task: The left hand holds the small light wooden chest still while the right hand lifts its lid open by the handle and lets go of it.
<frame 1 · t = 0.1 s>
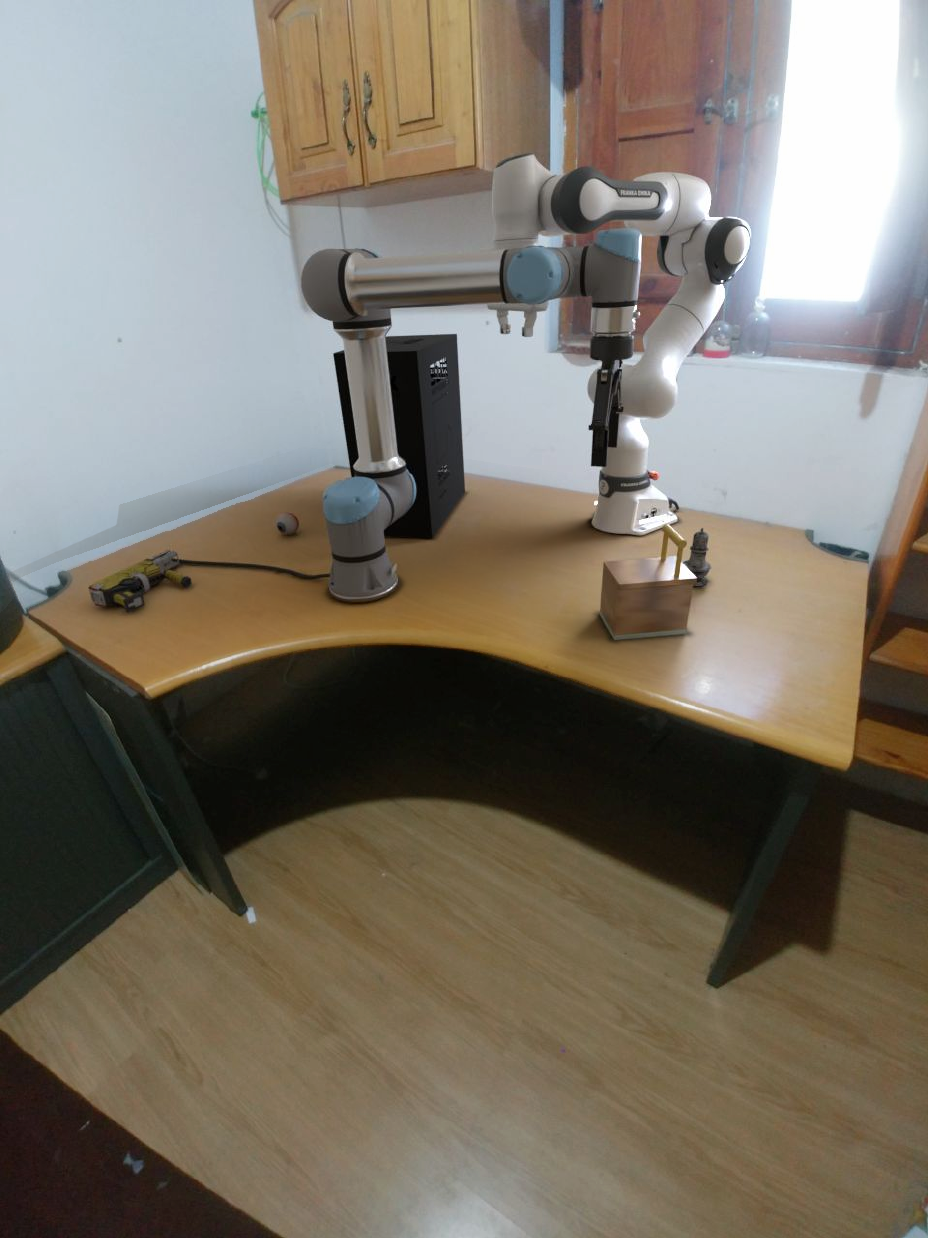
left hand: (604, 456, 115), 28 cm above the table, tool pointing down, fingers open, 13 cm apart
right hand: (516, 335, 125), 48 cm above the table, tool pointing down, fingers open, 8 cm apart
lid: (650, 554, 108), point 14 cm above the table, hinge at 0.0°
eyeball: (289, 534, 165), on the table
black box: (416, 512, 175), on the table
toy gun: (157, 589, 139), on the table
salt shaker: (694, 581, 129), on the table
chest: (641, 623, 115), on the table
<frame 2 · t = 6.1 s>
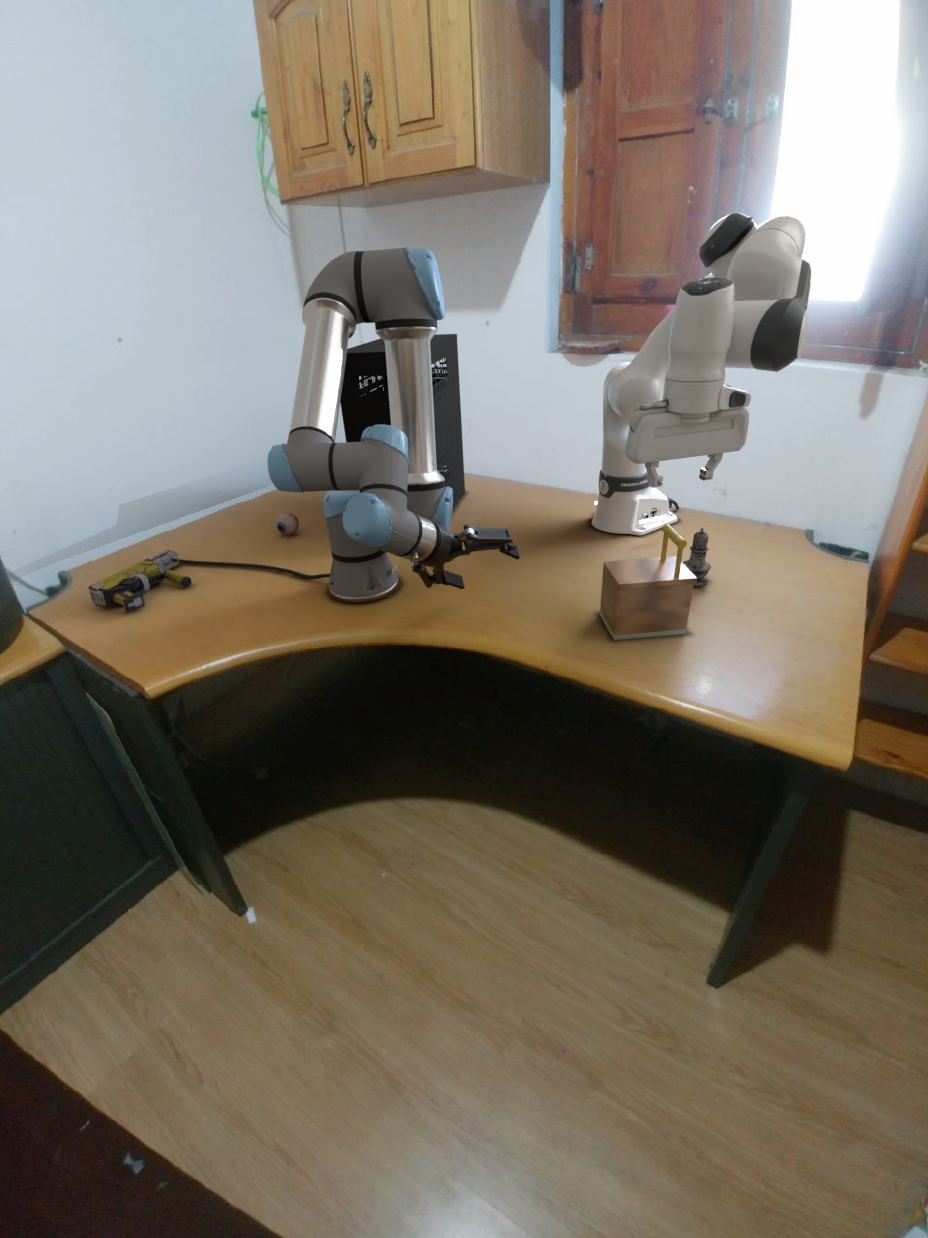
left hand: (489, 568, 119), 9 cm above the table, tool tilted 55°, fingers open, 13 cm apart
right hand: (680, 482, 102), 27 cm above the table, tool pointing down, fingers open, 8 cm apart
nothing on the table moved.
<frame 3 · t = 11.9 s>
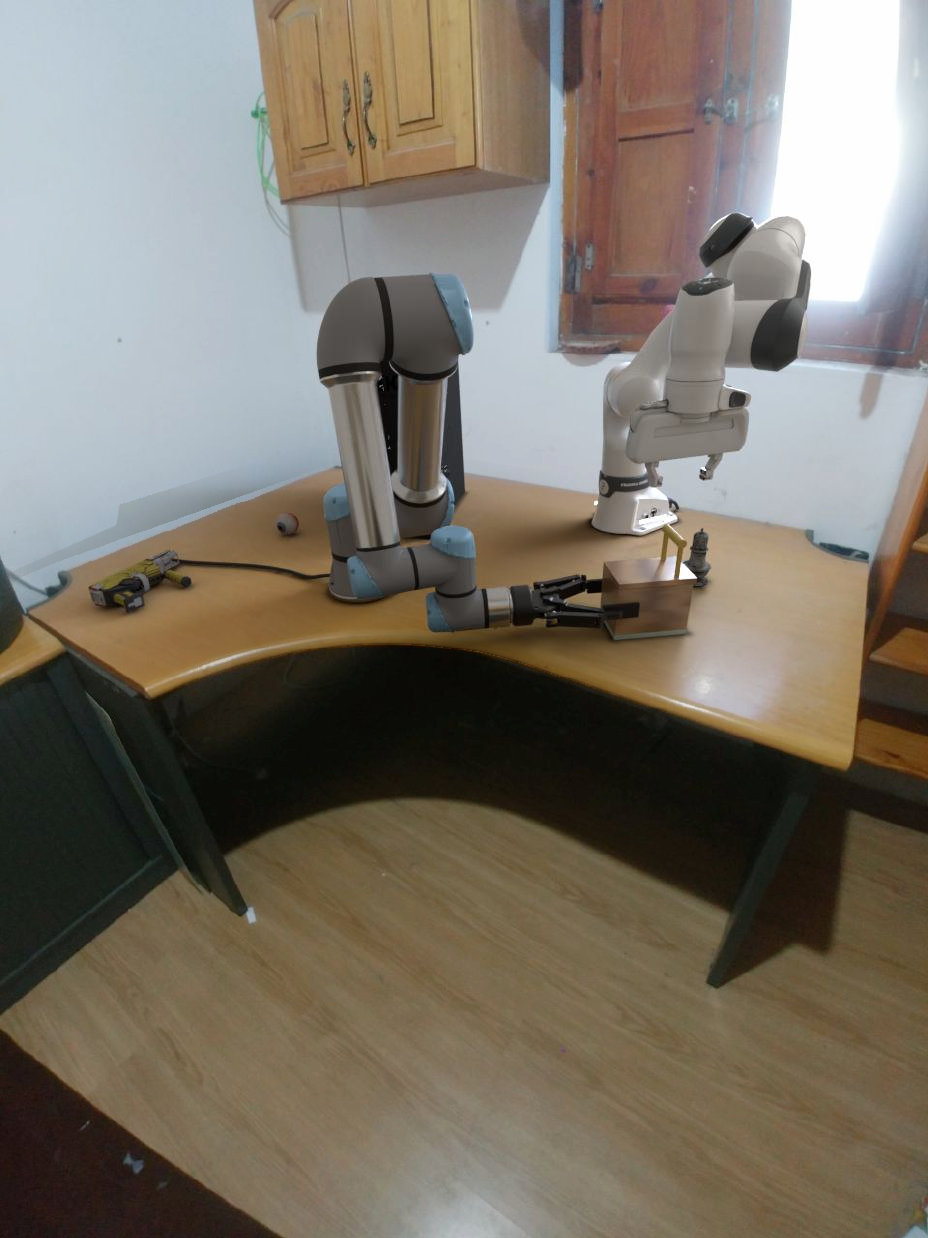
left hand: (629, 596, 112), 6 cm above the table, tool horizontal, fingers closed on chest, 10 cm apart
right hand: (680, 482, 102), 27 cm above the table, tool pointing down, fingers open, 8 cm apart
chest: (641, 623, 115), on the table, touching left hand
everything else where it was.
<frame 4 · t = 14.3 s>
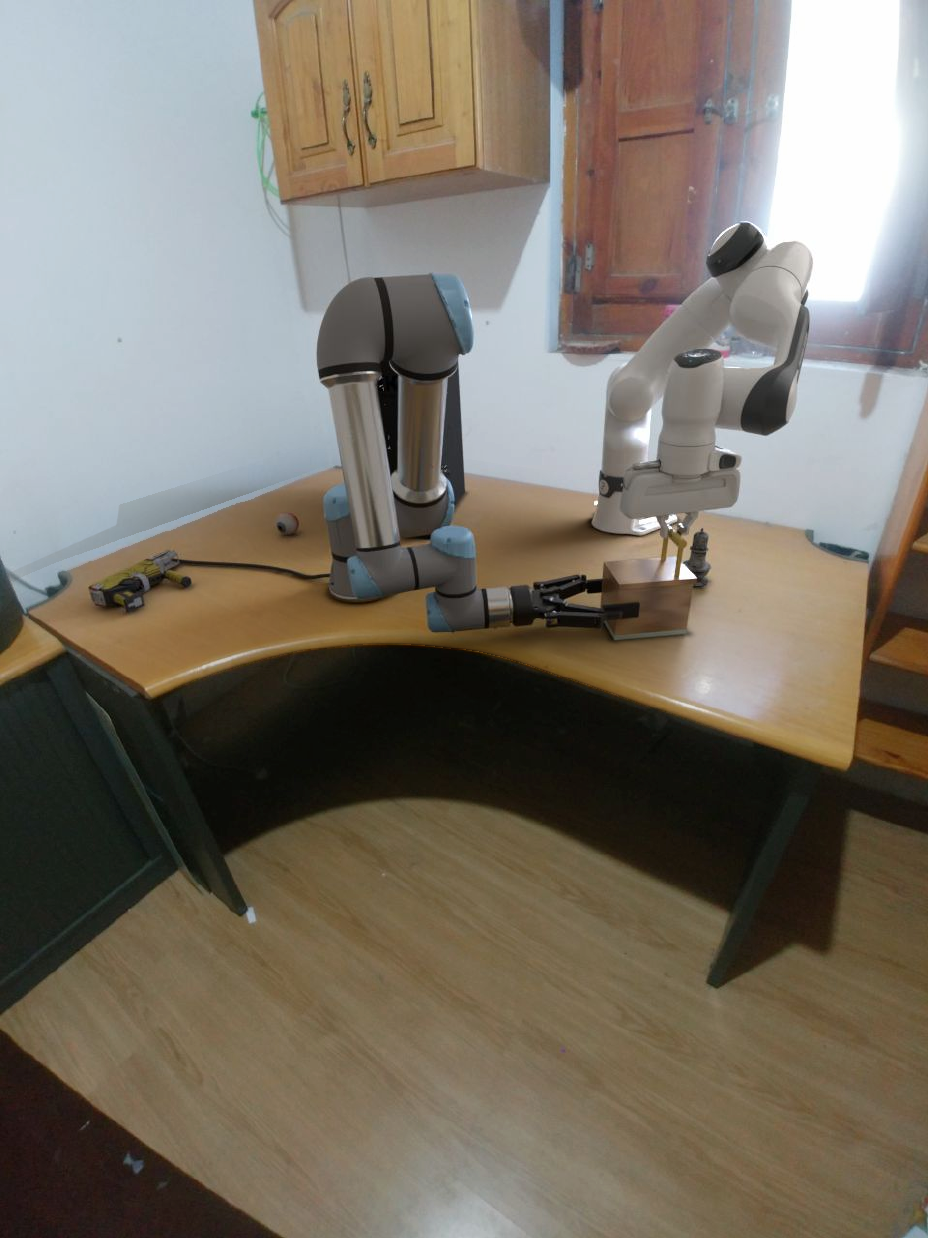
left hand: (629, 596, 112), 6 cm above the table, tool horizontal, fingers closed on chest, 10 cm apart
right hand: (674, 535, 107), 18 cm above the table, tool pointing down, fingers closed on lid, 2 cm apart
lid: (650, 554, 108), point 14 cm above the table, hinge at -0.2°, touching right hand
chest: (641, 623, 115), on the table, touching left hand
everything else where it was.
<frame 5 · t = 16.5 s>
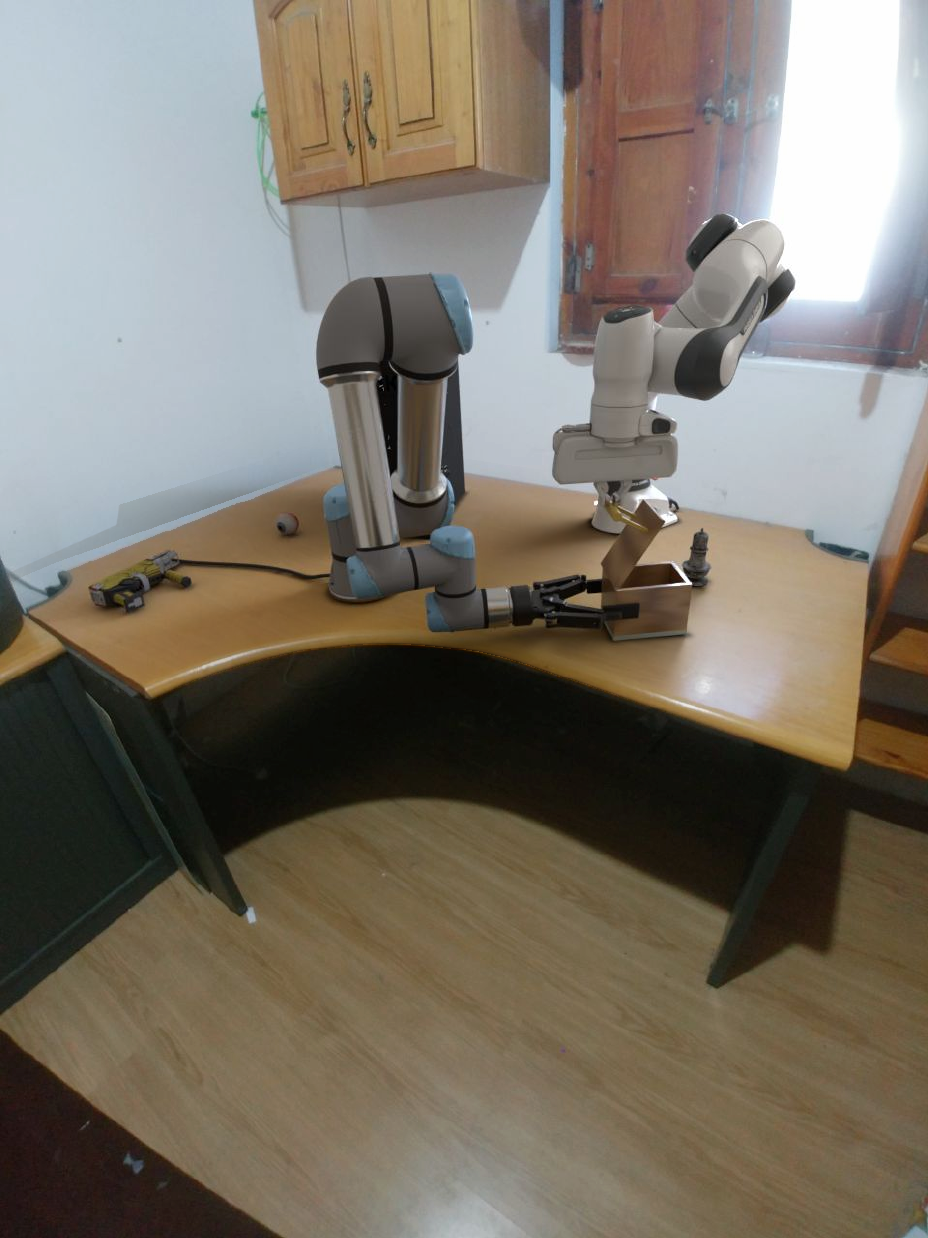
left hand: (629, 596, 112), 6 cm above the table, tool horizontal, fingers closed on chest, 10 cm apart
right hand: (610, 505, 103), 24 cm above the table, tool pointing down, fingers closed, pressing on lid
lid: (614, 535, 105), point 19 cm above the table, hinge at 59.1°, touching right hand
chest: (641, 623, 115), on the table, touching left hand
everything else where it was.
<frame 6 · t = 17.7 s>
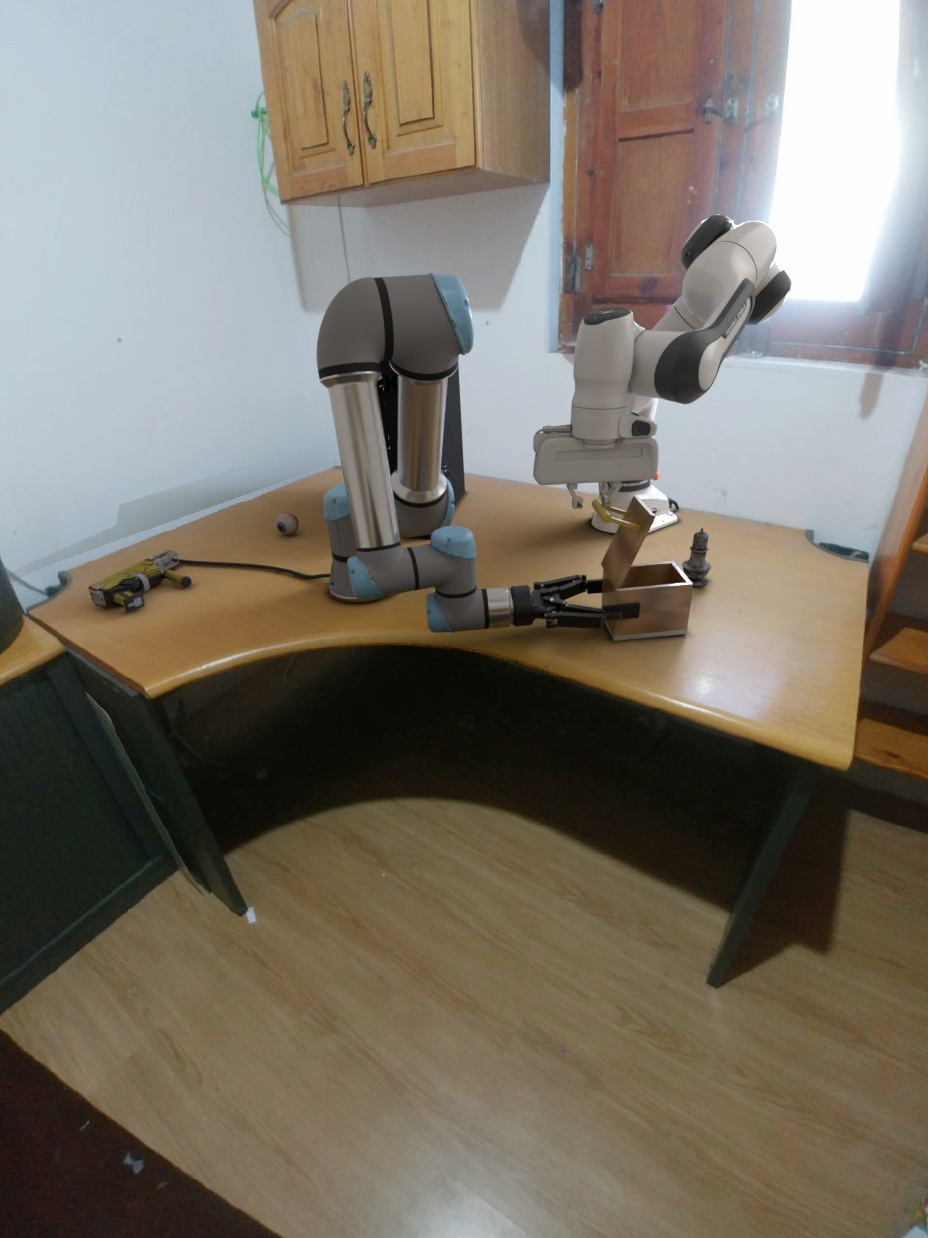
left hand: (629, 596, 112), 6 cm above the table, tool horizontal, fingers closed on chest, 10 cm apart
right hand: (591, 506, 103), 24 cm above the table, tool pointing down, fingers open, 4 cm apart
lid: (608, 536, 105), point 19 cm above the table, hinge at 67.2°, touching right hand
chest: (642, 623, 115), on the table, touching left hand
everything else where it was.
when the left hand's fingers open (6 cm above the table, at t = 21.0 s): chest stays where it is, on the table.
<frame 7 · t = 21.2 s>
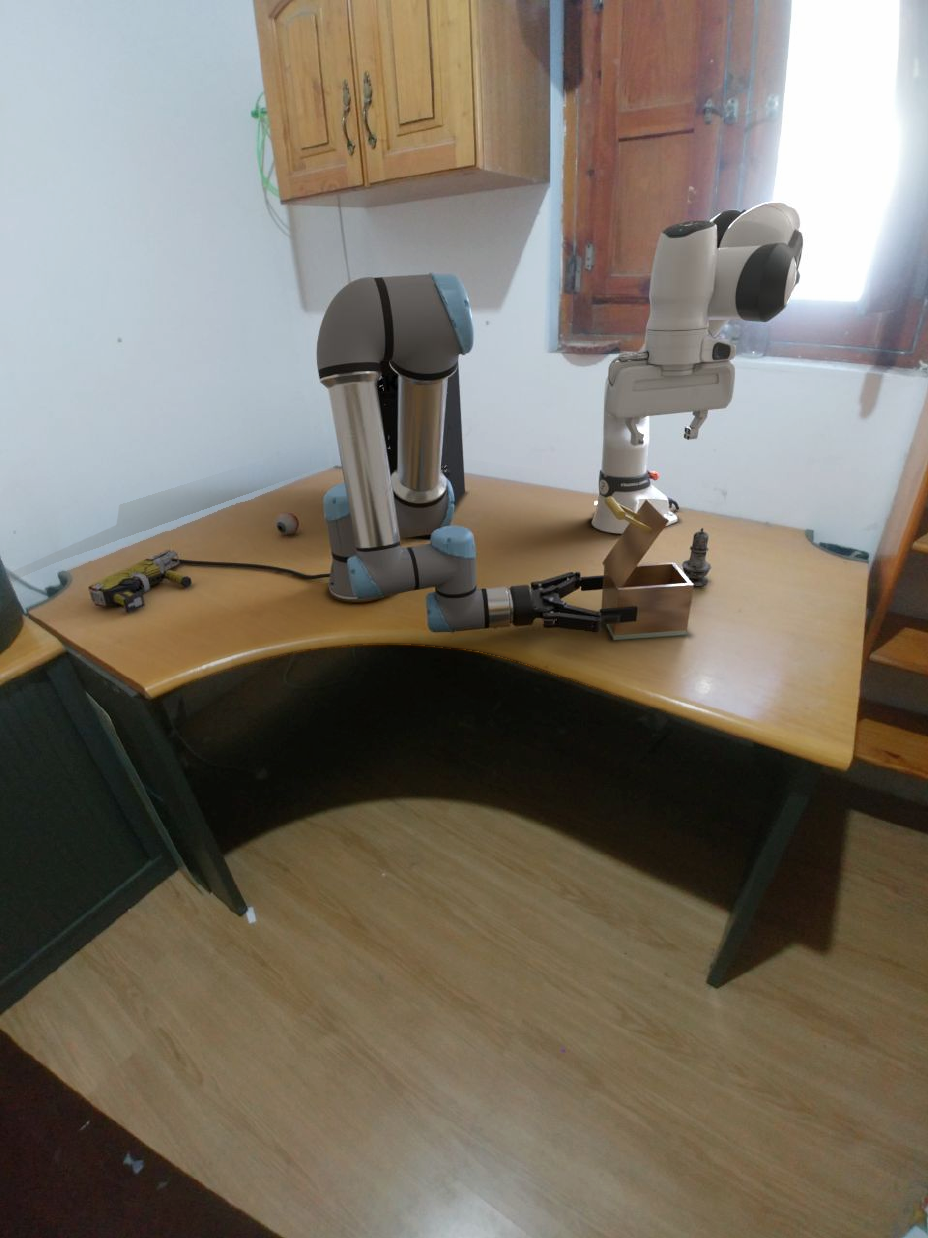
left hand: (625, 596, 112), 6 cm above the table, tool horizontal, fingers open, 12 cm apart
right hand: (663, 441, 98), 34 cm above the table, tool pointing down, fingers open, 8 cm apart
lid: (617, 534, 106), point 19 cm above the table, hinge at 59.3°
chest: (641, 624, 115), on the table
everything else where it was.
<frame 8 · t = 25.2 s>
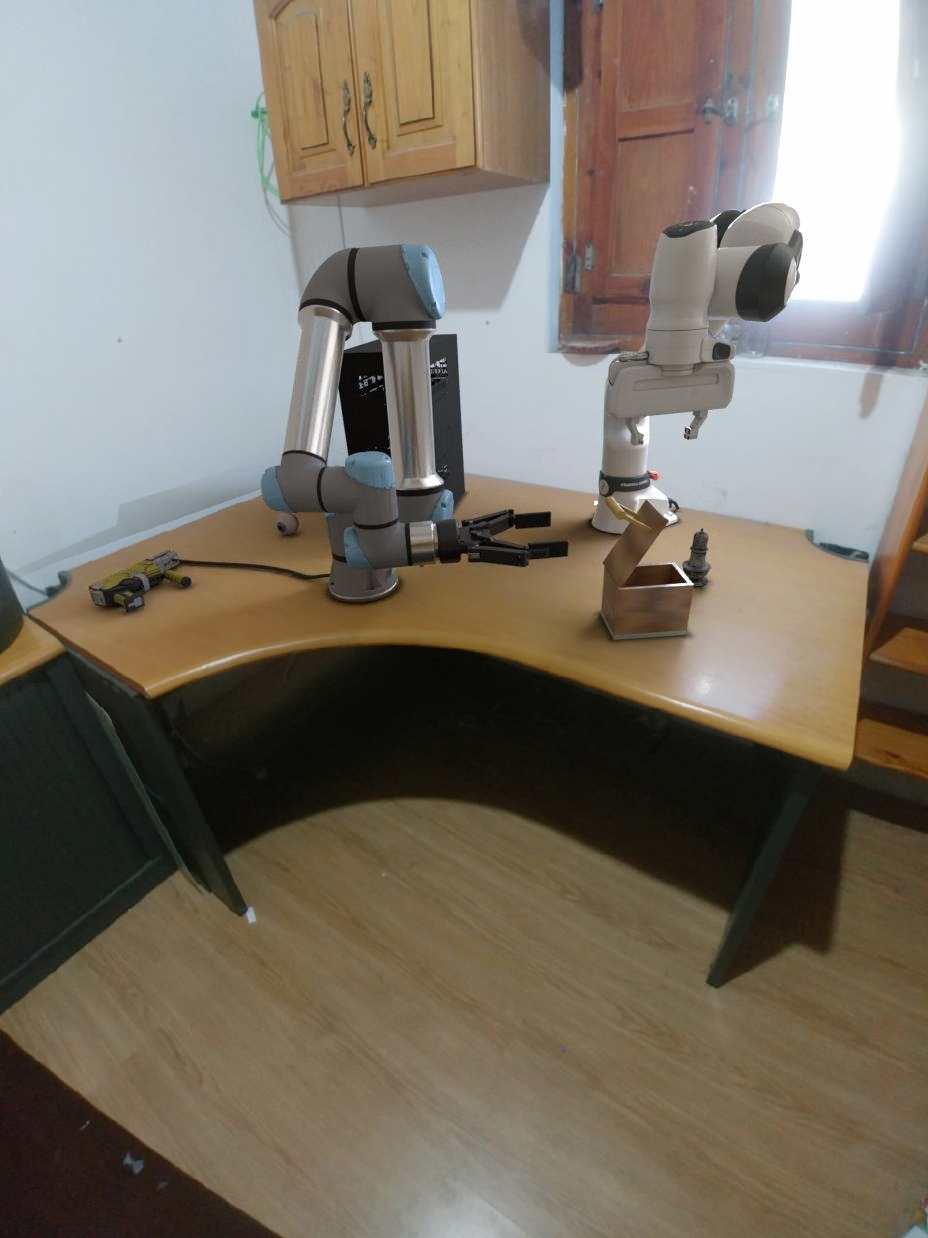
left hand: (558, 532, 104), 20 cm above the table, tool horizontal, fingers open, 13 cm apart
right hand: (663, 441, 98), 34 cm above the table, tool pointing down, fingers open, 8 cm apart
nothing on the table moved.
at the end: lid at +59° (first picture: +0°); the left hand is holding nothing; the right hand is holding nothing; chest tilted 0°; chest never tilted more than 2° during the clip; chest moved 0.2 cm from its start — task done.
